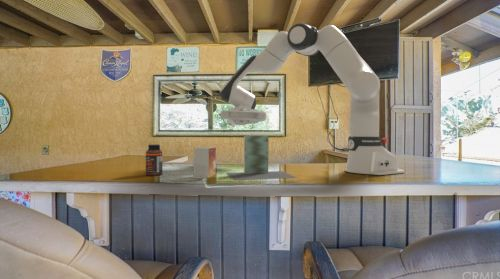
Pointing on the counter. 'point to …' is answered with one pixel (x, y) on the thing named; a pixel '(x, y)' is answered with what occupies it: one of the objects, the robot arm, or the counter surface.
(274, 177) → the mat
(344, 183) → the counter surface
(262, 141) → the slab
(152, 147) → the supplement bottle
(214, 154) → the small box
